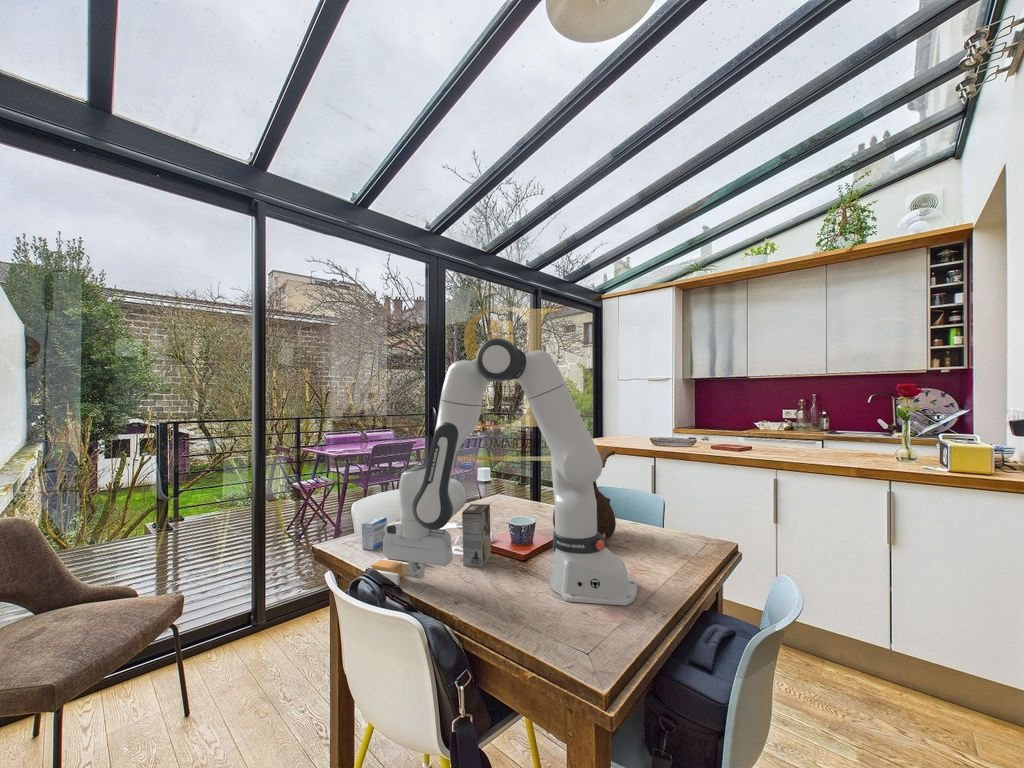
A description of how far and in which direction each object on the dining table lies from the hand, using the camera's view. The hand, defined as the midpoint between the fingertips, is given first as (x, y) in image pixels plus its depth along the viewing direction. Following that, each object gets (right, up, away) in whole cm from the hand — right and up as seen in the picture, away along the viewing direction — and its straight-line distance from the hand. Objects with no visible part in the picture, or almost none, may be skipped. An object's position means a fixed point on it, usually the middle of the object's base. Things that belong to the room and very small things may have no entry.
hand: (418, 577), depth 120 cm
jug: (+50, -1, +30) cm, 59 cm away
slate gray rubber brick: (-6, -2, +10) cm, 12 cm away
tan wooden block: (-9, -2, +3) cm, 10 cm away
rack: (-7, -1, +6) cm, 10 cm away
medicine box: (-20, -2, +28) cm, 34 cm away
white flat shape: (+5, -2, +37) cm, 37 cm away
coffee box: (+15, -1, +14) cm, 20 cm away
